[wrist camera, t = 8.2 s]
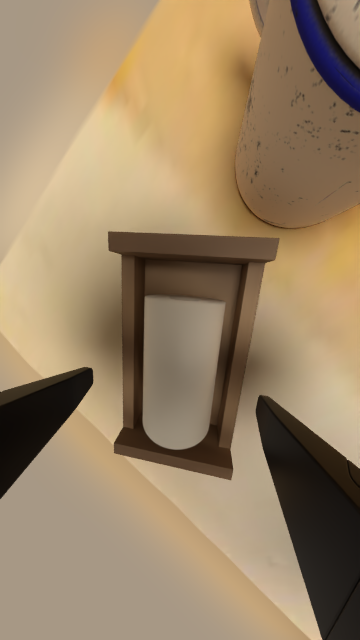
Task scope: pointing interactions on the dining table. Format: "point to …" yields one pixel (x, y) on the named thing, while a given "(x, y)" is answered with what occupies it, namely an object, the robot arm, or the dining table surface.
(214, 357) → the roll
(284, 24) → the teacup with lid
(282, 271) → the dining table surface
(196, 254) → the wooden tray
